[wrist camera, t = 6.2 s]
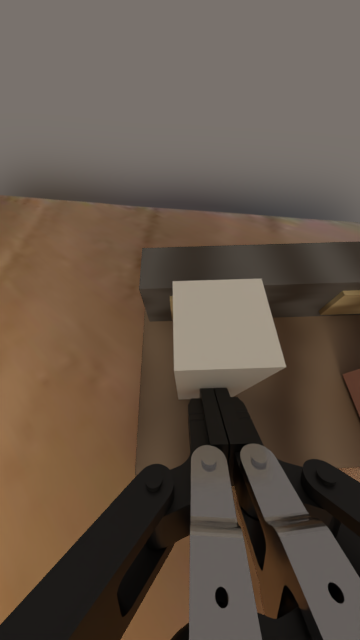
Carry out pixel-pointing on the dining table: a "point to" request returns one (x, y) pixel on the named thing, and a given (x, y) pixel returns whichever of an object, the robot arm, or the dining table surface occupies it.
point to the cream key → (223, 336)
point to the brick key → (354, 386)
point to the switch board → (295, 340)
